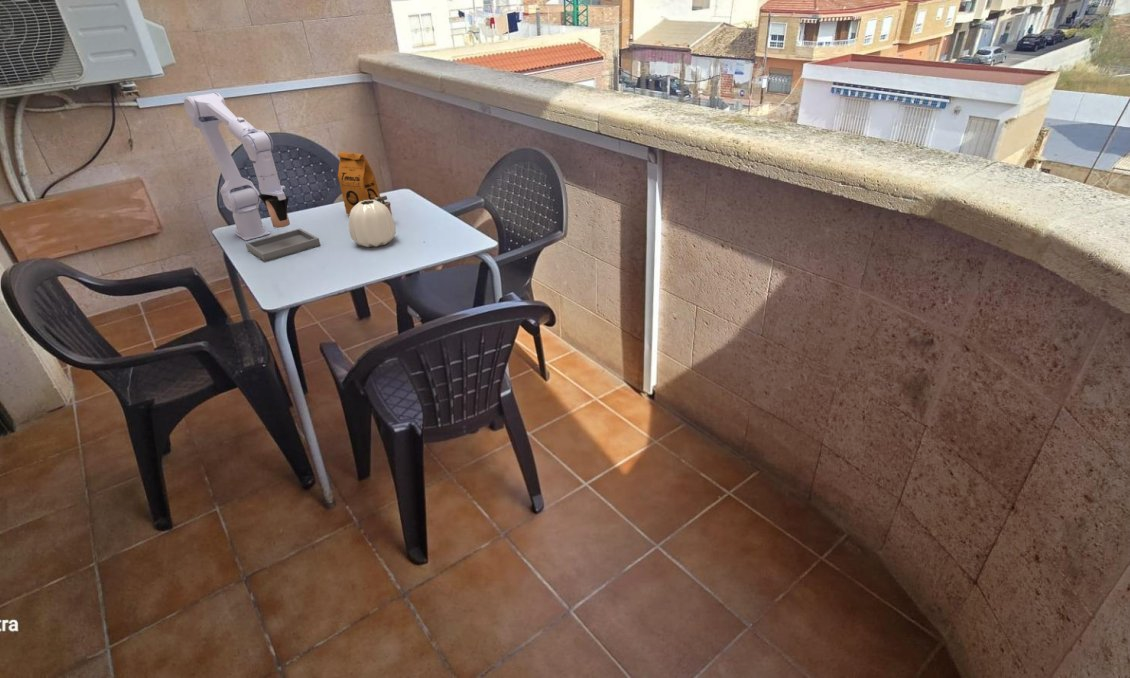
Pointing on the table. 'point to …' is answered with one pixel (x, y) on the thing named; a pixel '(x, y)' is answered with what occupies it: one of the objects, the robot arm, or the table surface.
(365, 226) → the vase
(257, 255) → the tray
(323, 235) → the table surface
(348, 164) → the coffee package
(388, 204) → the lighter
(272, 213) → the cup
